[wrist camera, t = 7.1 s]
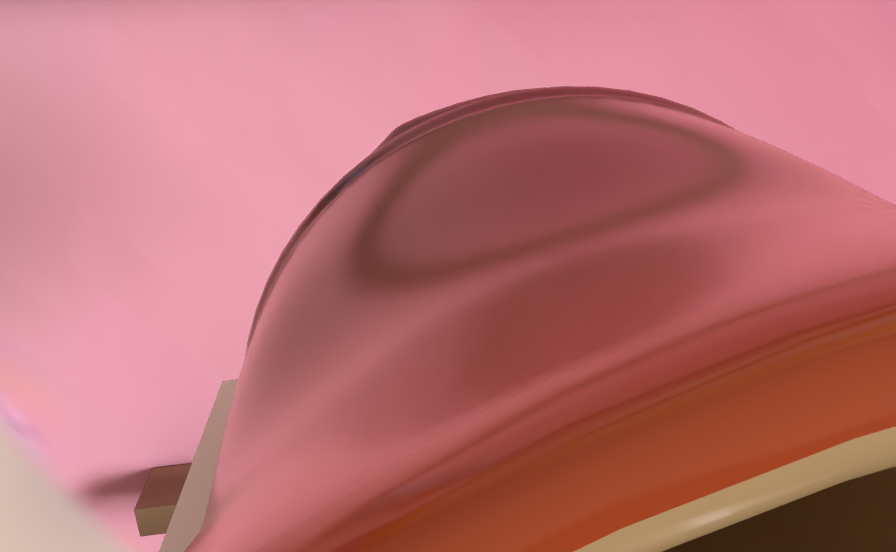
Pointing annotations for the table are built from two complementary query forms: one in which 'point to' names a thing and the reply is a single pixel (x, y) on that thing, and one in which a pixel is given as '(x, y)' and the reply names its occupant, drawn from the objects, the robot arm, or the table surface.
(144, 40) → the table surface
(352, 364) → the mug
